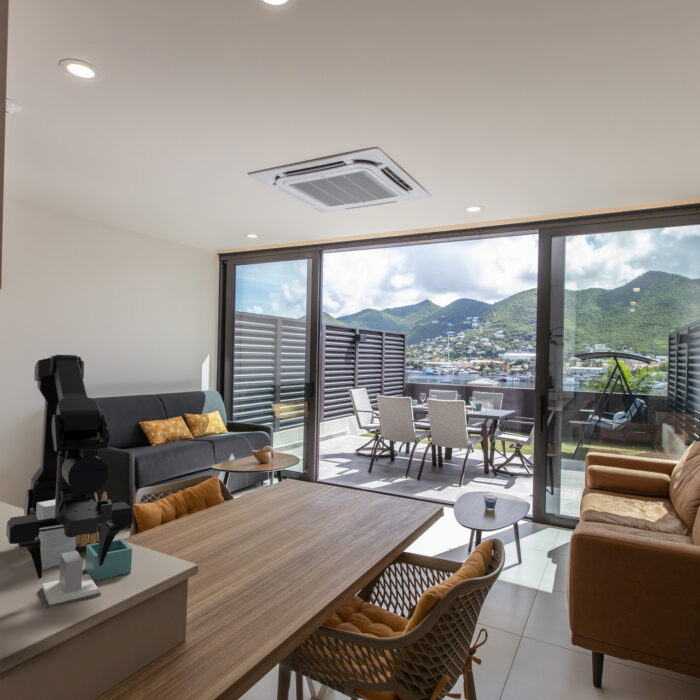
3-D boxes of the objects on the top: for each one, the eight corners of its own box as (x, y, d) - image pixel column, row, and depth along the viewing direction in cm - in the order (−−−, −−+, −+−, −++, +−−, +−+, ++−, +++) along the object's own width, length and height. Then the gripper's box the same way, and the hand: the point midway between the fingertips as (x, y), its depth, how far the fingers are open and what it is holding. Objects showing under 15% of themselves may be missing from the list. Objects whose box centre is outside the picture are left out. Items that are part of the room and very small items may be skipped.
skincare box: (66, 555, 102) (69, 496, 102) (75, 561, 99) (78, 500, 99) (32, 564, 97) (35, 502, 97) (41, 570, 94) (44, 506, 95)
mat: (39, 590, 86) (39, 588, 86) (90, 579, 91) (90, 577, 91) (46, 608, 81) (46, 606, 81) (100, 595, 86) (100, 593, 86)
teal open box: (85, 568, 96) (86, 545, 96) (121, 561, 100) (122, 538, 100) (93, 581, 91) (94, 556, 91) (130, 572, 95) (132, 548, 95)
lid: (42, 588, 86) (44, 554, 87) (88, 578, 91) (89, 546, 91) (49, 604, 81) (51, 568, 81) (97, 593, 85) (99, 559, 86)
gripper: (16, 499, 74) (10, 605, 74) (146, 483, 86) (141, 575, 86) (8, 483, 83) (3, 578, 83) (127, 470, 95) (123, 554, 94)
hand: (70, 571), depth 86 cm, fingers open, 9 cm apart
